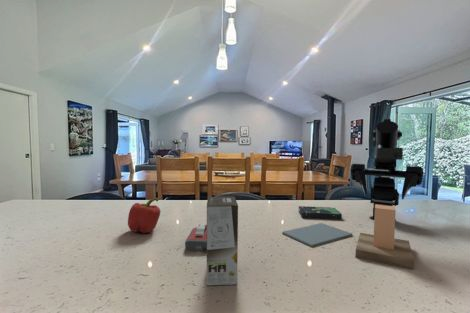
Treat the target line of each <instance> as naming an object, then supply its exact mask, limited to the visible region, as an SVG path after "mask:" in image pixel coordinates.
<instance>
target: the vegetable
mask: <svg viewBox="0 0 470 313" xmlns="http://www.w3.org/2000/svg"><path fill="white" fill-rule="evenodd" d="M159 200H160V199H159V197H153V198H150V199H149V200H148V201H147V202H146V203H139V202H136V203H135V202H134V203H133V204H132V206H131V207H130V209H129V212H128V218H127V226H128V228H129V230H130V231H131V232H141V234H148V233H151V232H153V231H154V230H155V228H156V226H157V224H158V221H159V219H160V215H161V209H160V207H159V206H158V205H154V204H153V205H151V204H152V203H153V202H155V201H156V202H159Z"/></svg>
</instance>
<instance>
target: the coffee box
mask: <svg viewBox="0 0 470 313" xmlns="http://www.w3.org/2000/svg"><path fill="white" fill-rule="evenodd" d="M206 225H207V252H206V286H227V285H230V286H231V285H232V286H233V285H237V284H238V251H239V250H238V249H239V248H238V247H239V246H238V244H239V239H238V238H239V204H238V201H237V199H236V196H209V197H207V202H206Z"/></svg>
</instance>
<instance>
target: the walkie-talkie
mask: <svg viewBox="0 0 470 313" xmlns="http://www.w3.org/2000/svg"><path fill="white" fill-rule="evenodd" d="M184 243H185V244H184V250H185V251H186V250H187V251H186V252H205V251H207V224H198V226H196V227H194V228H192V230H191V231H190V232H189V235H188V237H187V238H186V240H185V241H184Z"/></svg>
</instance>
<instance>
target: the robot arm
mask: <svg viewBox="0 0 470 313" xmlns="http://www.w3.org/2000/svg"><path fill="white" fill-rule="evenodd" d="M402 137H403V132H402V131H400V129H399V125H398V124H397V123H396V122H394V121H392V120H391V118H384V119H383V120H382V121H380V122H378V124H376V126H375V129H374V130H373V131H372V138H373V148H375V152H374V153H375V155H374V159H373V162H374V164H373V167H374V168H371V167H370V168H369V167H368V168H367V167H366V164H365V163H352V164H351V165H350V168H349V169H350V178H351V180H352V181H355V182H356V183H359V185H360V186H361V188H362V190H363V194H364V197H365V196H366V197H367V194H368V189H367V179H366V177H367V176H375V177H374V179H373V182H372V183H373V184H372V186H370V202H369V203H370V204H373V207H372V215H371V216H369V219H371V220H374V217H375V204H378V205H387V206H395V207H397V206H399V205H400V204H399V200H400V192H399V191H398V188H396V182H395V179H396V178H397V179H404V181H403V184H402V190H401V191H402V192H401V200H404V199H405V197H406V196H407V194H408V192H409V191H410V189H411V188H414V187H417V186H420V185H422V183H423V178H424V175H425V174H424V168H423V167H422V166H418V165H417V166H415V165H413V166H412V165H406V166H405V170H397V169H396V168H397V160H399V161H400V160H401V161H402V160H403V158H404V157H403V156H404V147H397V144H398V141H399V140H400V138H402ZM394 178H395V179H394ZM396 221H397V219H396V218H395V222H396Z"/></svg>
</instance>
